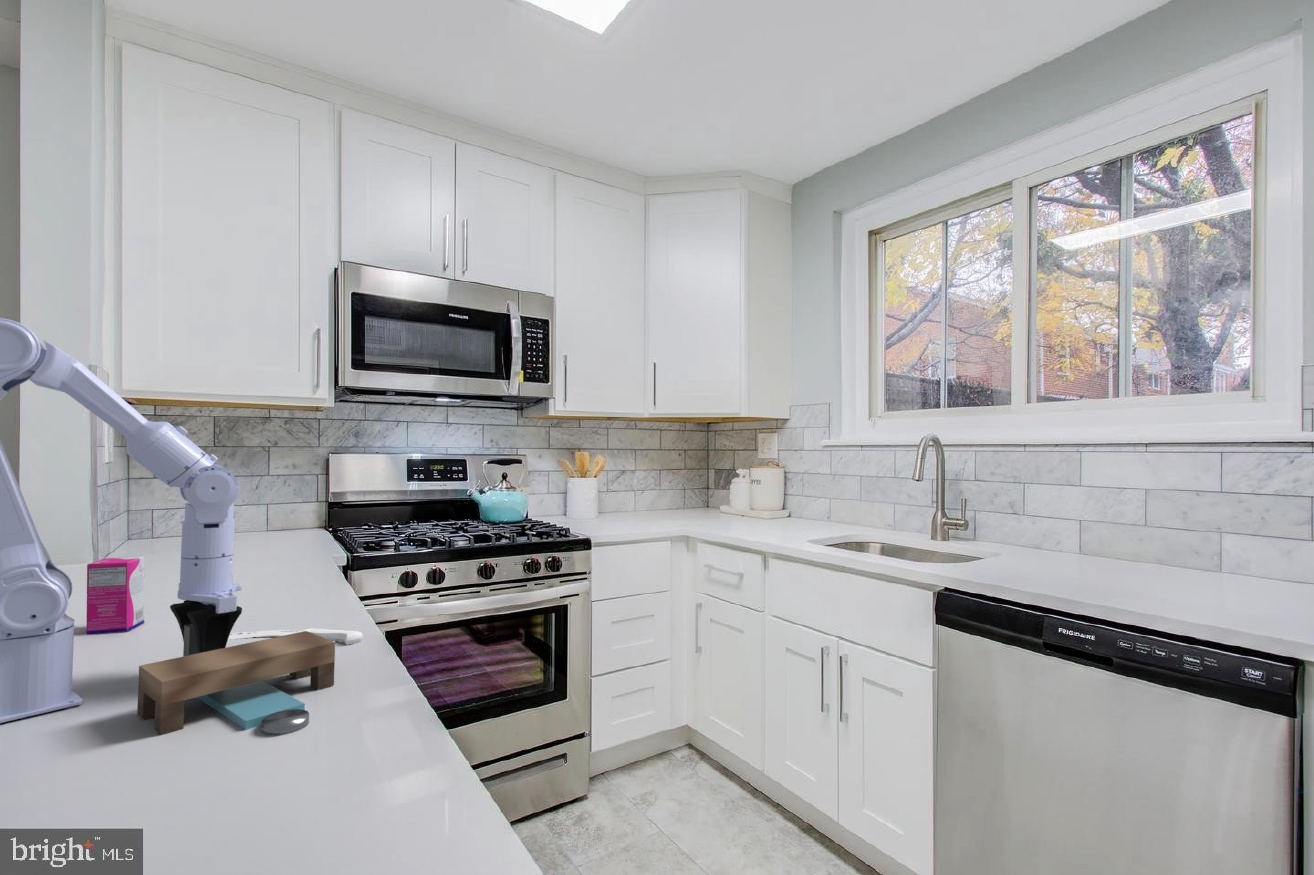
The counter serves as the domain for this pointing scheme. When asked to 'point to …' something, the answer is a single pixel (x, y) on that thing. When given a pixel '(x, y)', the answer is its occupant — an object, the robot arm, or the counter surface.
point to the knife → (332, 635)
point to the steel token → (285, 722)
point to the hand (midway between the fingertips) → (204, 658)
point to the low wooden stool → (229, 673)
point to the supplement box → (115, 595)
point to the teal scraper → (243, 695)
